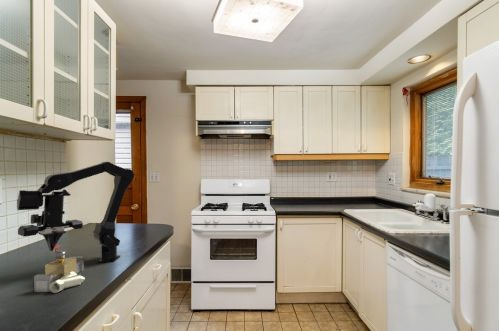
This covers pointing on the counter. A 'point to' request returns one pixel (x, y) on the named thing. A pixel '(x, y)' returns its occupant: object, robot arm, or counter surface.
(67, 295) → the counter surface
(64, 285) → the pipe fitting
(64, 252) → the lever
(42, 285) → the valve
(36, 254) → the counter surface
